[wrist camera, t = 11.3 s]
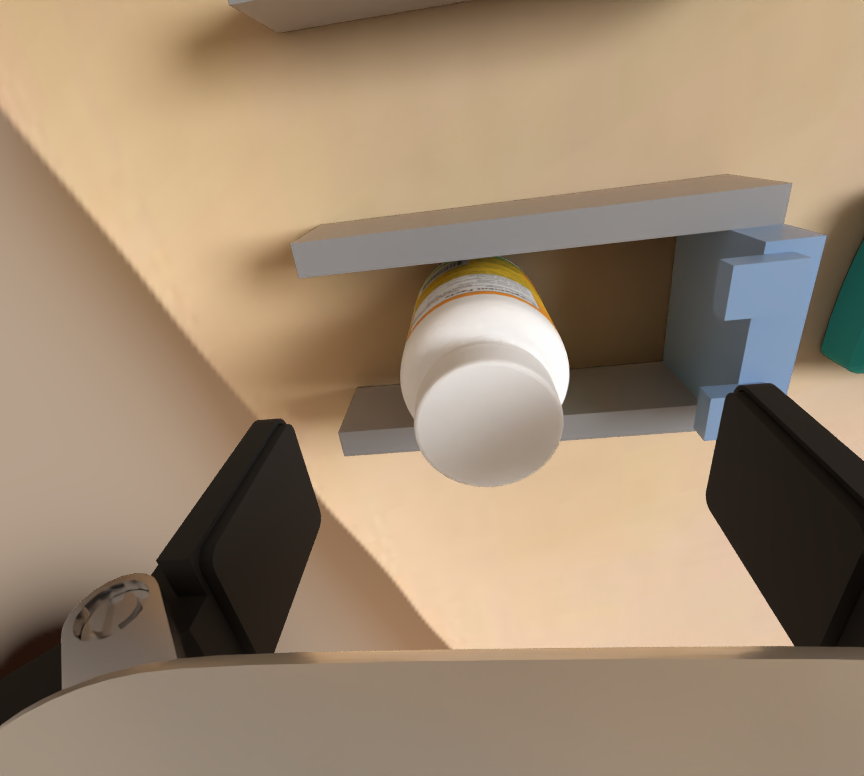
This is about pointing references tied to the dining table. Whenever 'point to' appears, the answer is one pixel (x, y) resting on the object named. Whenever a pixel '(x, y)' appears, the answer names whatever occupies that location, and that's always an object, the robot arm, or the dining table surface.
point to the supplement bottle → (484, 373)
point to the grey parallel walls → (585, 226)
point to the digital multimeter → (848, 320)
